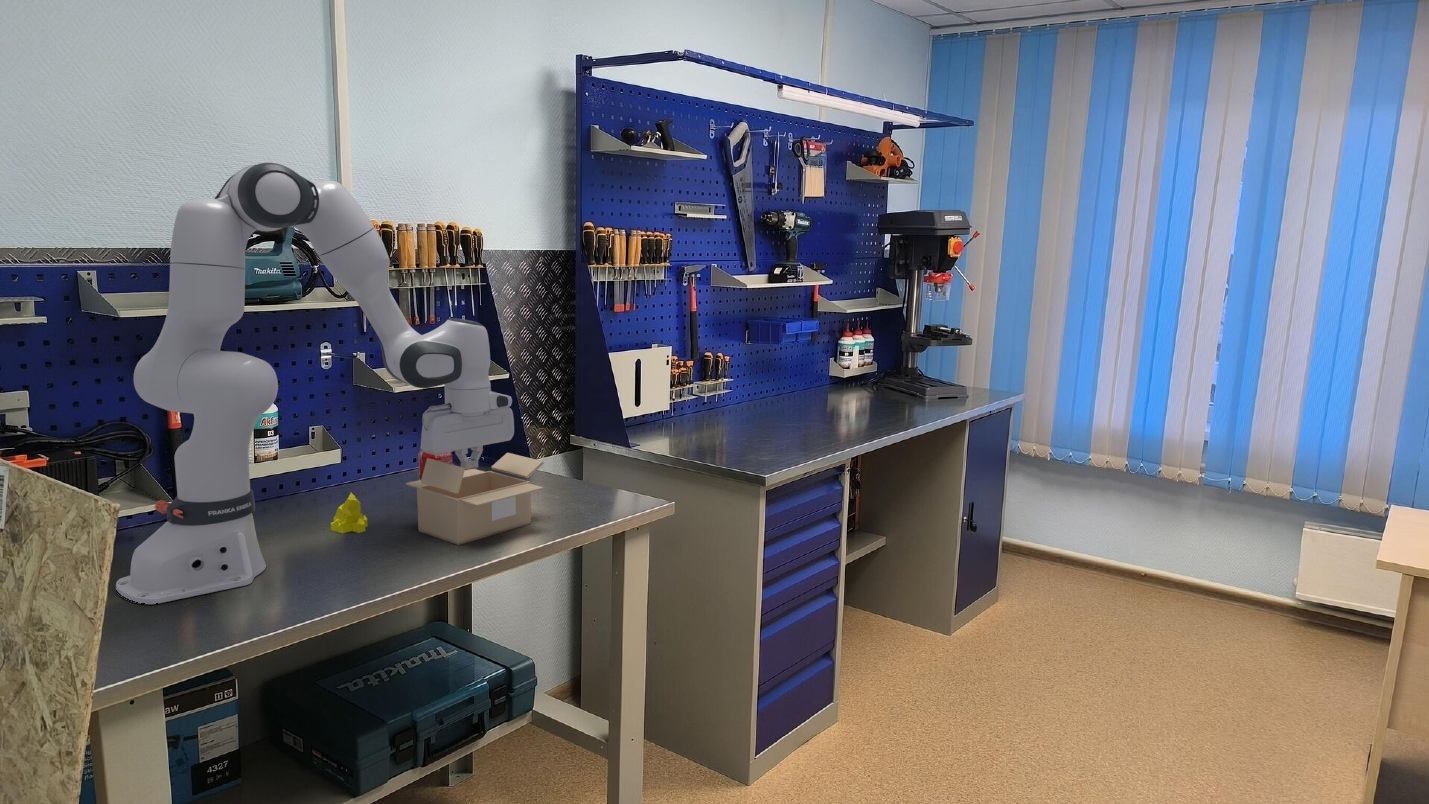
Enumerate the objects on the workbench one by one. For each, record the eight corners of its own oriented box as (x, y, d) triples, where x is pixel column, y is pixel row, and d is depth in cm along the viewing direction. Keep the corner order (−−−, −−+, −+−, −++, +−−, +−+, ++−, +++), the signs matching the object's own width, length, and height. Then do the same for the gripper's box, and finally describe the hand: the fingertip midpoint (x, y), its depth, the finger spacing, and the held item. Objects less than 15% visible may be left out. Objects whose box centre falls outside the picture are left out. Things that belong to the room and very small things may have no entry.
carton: (474, 550, 177) (473, 504, 175) (404, 526, 190) (402, 483, 189) (547, 528, 191) (546, 485, 189) (476, 507, 204) (475, 467, 203)
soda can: (458, 499, 210) (457, 443, 207) (446, 509, 203) (444, 450, 200) (428, 498, 210) (426, 441, 208) (414, 507, 203) (412, 449, 201)
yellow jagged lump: (349, 521, 193) (348, 485, 192) (374, 528, 189) (372, 491, 187) (324, 528, 188) (322, 491, 187) (349, 536, 184) (347, 498, 183)
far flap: (542, 461, 195) (543, 463, 195) (507, 452, 202) (508, 454, 202) (526, 476, 192) (527, 478, 192) (491, 466, 199) (492, 469, 199)
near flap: (429, 458, 186) (427, 458, 186) (465, 468, 180) (462, 467, 179) (423, 483, 186) (420, 482, 186) (458, 493, 179) (455, 493, 179)
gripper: (432, 409, 175) (434, 481, 178) (518, 396, 191) (519, 462, 193) (412, 405, 179) (415, 475, 181) (498, 393, 195) (499, 457, 197)
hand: (469, 468), depth 187 cm, fingers closed
